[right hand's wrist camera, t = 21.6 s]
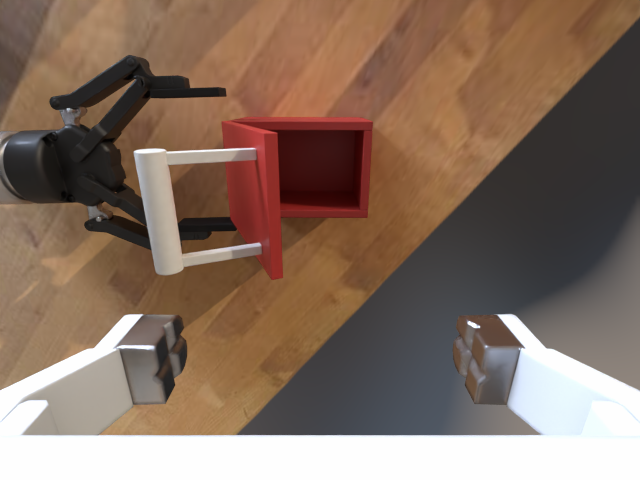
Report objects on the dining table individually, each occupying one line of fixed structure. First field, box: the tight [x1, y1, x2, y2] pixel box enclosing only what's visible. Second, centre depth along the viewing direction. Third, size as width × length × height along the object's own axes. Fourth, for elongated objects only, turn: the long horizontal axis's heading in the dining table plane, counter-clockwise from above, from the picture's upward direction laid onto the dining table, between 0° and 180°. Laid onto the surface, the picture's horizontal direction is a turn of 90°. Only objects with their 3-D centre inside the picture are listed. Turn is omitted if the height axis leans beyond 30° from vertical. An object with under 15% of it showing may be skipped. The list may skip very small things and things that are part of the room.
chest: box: [230, 117, 373, 218], centre depth 39 cm, size 14×10×9 cm
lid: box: [134, 121, 283, 280], centre depth 27 cm, size 14×10×8 cm
